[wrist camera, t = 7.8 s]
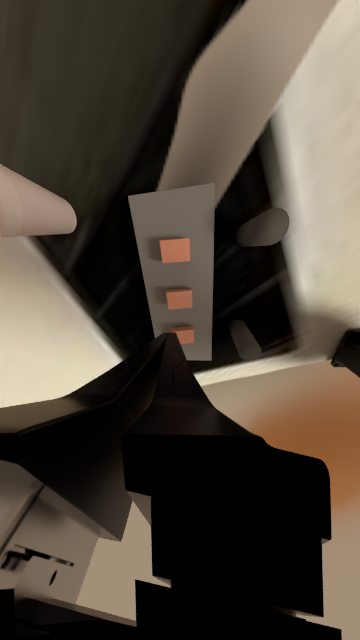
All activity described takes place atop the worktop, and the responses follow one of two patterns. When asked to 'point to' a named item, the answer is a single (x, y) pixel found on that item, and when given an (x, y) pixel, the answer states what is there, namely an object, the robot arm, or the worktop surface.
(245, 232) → the peg
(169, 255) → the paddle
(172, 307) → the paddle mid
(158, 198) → the power strip
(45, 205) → the smoothie
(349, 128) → the worktop surface
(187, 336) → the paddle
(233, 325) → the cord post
